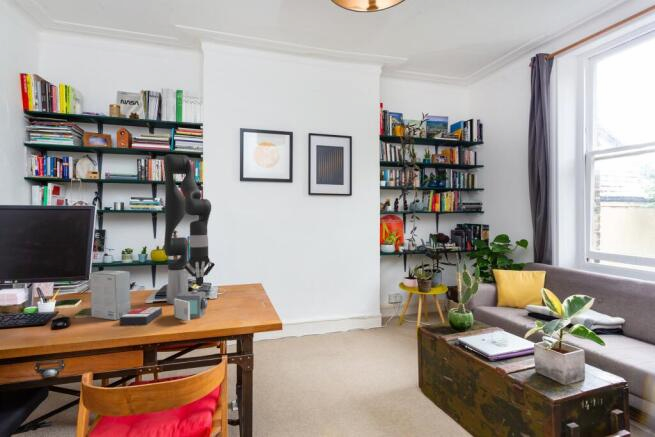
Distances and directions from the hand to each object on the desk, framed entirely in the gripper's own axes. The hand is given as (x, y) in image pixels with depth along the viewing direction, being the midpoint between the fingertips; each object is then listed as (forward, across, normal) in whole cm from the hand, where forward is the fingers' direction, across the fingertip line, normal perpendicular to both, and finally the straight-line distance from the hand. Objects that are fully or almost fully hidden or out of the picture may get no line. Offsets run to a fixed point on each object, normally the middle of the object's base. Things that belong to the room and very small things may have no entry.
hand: (199, 285), depth 145 cm
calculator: (+16, -21, +15) cm, 31 cm away
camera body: (+15, -2, +8) cm, 17 cm away
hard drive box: (+15, -33, +27) cm, 46 cm away
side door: (+14, -7, +3) cm, 16 cm away
